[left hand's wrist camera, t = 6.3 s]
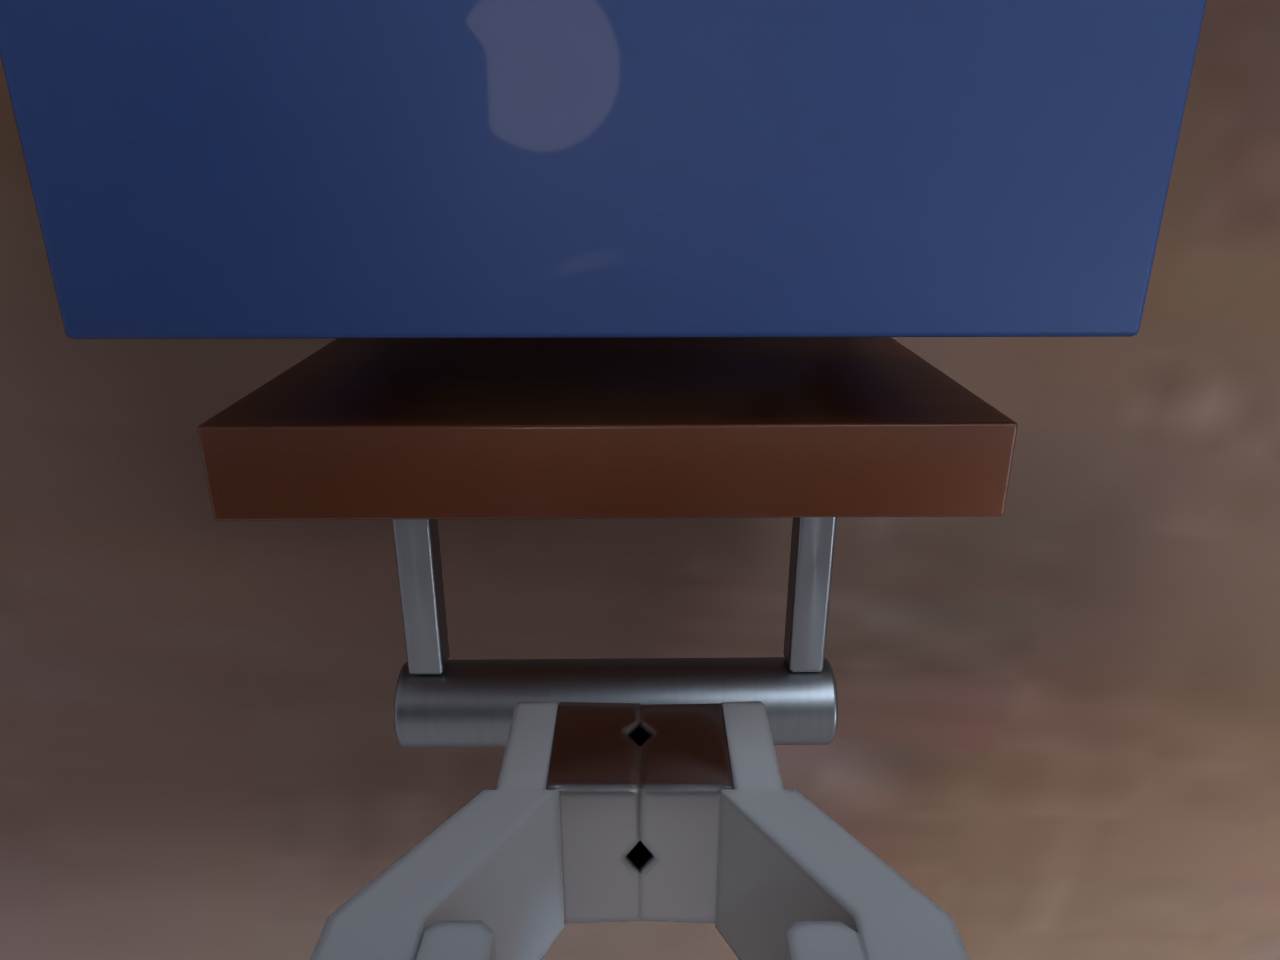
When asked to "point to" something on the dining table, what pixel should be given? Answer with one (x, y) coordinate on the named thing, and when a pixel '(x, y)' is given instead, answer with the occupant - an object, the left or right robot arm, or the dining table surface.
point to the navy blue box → (599, 165)
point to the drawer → (608, 484)
